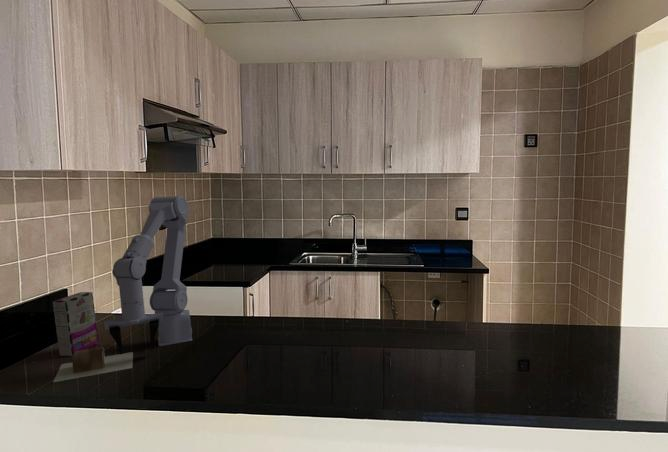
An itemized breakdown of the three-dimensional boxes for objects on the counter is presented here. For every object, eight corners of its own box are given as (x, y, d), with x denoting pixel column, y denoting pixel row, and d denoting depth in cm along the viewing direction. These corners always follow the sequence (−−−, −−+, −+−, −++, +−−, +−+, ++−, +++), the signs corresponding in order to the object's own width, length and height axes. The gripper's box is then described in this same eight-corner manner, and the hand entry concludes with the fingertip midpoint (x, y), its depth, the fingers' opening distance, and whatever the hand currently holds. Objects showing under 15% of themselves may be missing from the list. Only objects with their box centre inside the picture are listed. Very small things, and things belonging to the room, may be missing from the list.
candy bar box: (85, 344, 149) (79, 291, 148) (99, 344, 148) (93, 291, 147) (57, 356, 138) (51, 300, 137) (72, 357, 137) (66, 300, 136)
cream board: (133, 352, 138) (133, 351, 138) (132, 368, 125) (132, 367, 125) (61, 364, 131) (61, 364, 131) (53, 383, 118) (53, 382, 118)
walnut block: (103, 346, 131) (74, 351, 129) (102, 353, 126) (71, 358, 123) (105, 360, 132) (76, 365, 129) (103, 368, 126) (73, 373, 123)
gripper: (101, 308, 124) (107, 360, 125) (161, 300, 129) (165, 349, 131) (103, 303, 131) (108, 352, 132) (160, 295, 136) (164, 342, 137)
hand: (137, 350), depth 132 cm, fingers open, 7 cm apart
